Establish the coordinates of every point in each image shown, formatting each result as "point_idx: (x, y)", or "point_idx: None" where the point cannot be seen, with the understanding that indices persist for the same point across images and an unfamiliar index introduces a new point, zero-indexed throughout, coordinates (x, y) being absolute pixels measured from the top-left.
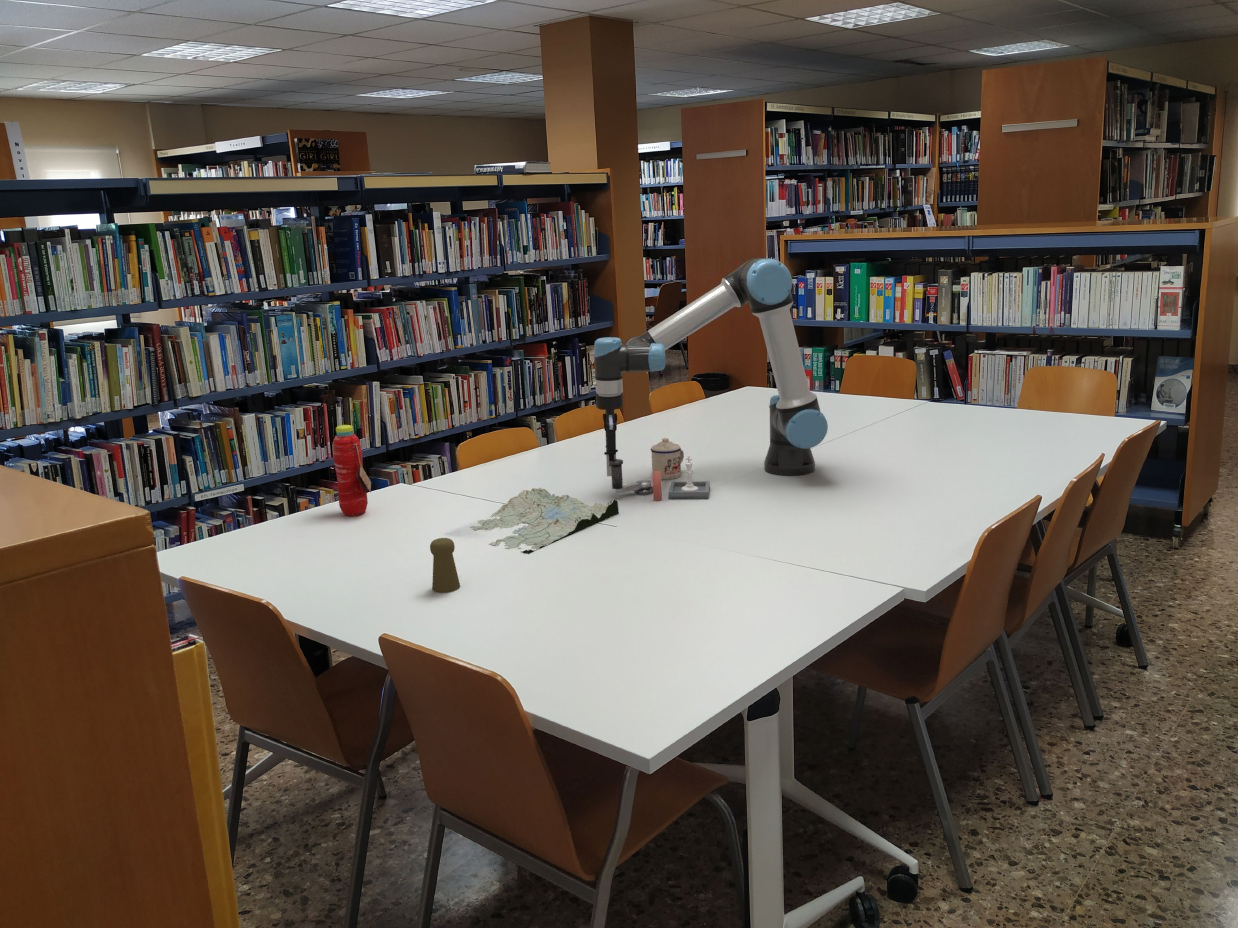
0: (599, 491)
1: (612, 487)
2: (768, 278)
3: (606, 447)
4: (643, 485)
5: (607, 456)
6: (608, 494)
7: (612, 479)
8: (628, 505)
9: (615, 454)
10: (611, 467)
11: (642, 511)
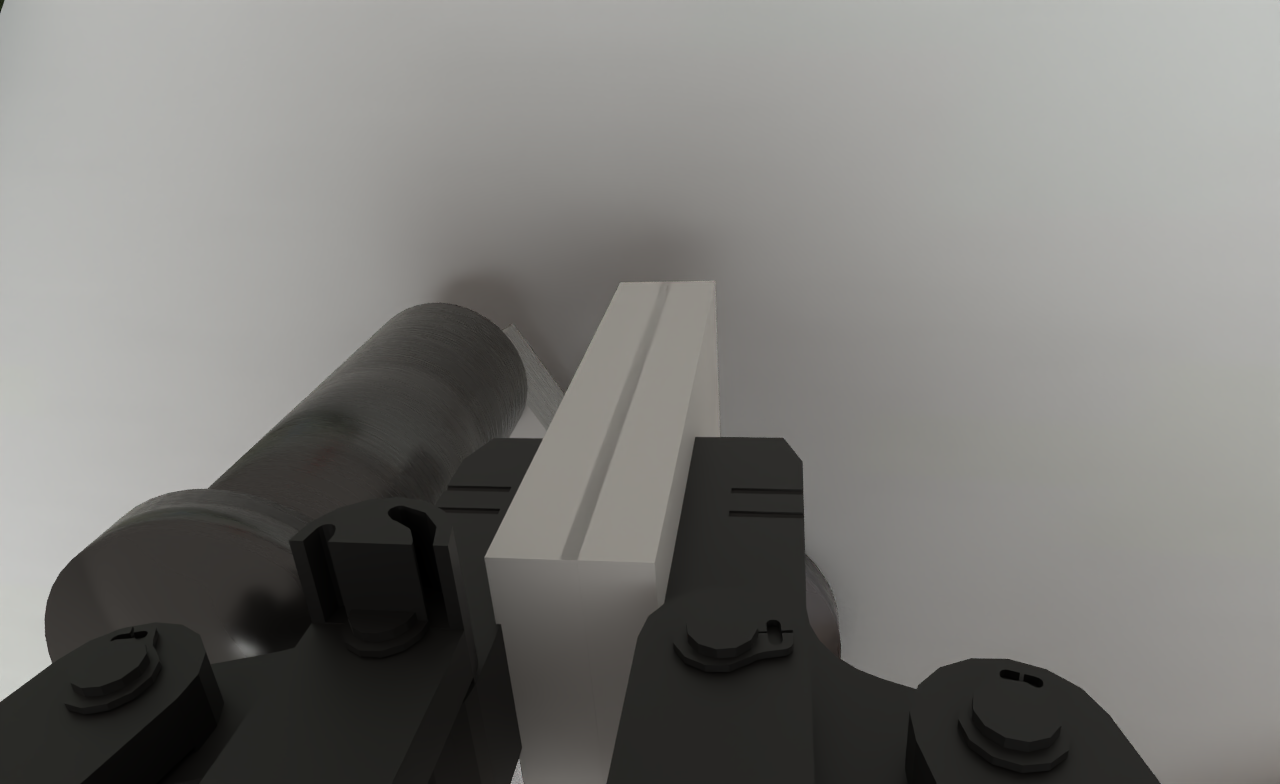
0: (882, 56)
1: (403, 314)
2: None
3: (726, 733)
4: None
5: (505, 539)
6: (685, 199)
7: (334, 374)
8: (200, 422)
9: (525, 772)
10: (219, 484)
11: (19, 533)
